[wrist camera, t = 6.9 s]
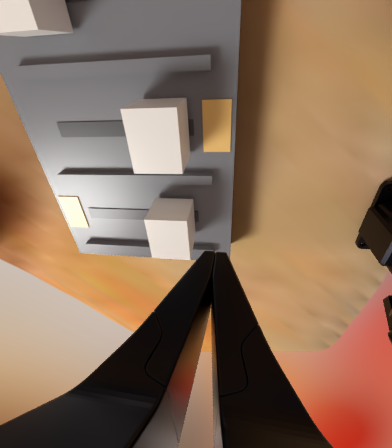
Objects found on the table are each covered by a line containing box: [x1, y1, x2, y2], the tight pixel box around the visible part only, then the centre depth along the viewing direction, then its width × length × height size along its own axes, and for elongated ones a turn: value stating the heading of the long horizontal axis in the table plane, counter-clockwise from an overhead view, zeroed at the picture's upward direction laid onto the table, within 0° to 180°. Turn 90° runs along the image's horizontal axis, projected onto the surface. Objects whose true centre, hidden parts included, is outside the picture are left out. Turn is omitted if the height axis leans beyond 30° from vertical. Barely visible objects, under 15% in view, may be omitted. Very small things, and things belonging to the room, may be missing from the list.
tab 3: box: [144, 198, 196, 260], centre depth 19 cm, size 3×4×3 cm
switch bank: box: [0, 0, 241, 260], centre depth 17 cm, size 15×24×3 cm, turn 3°
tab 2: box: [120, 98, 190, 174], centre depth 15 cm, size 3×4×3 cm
